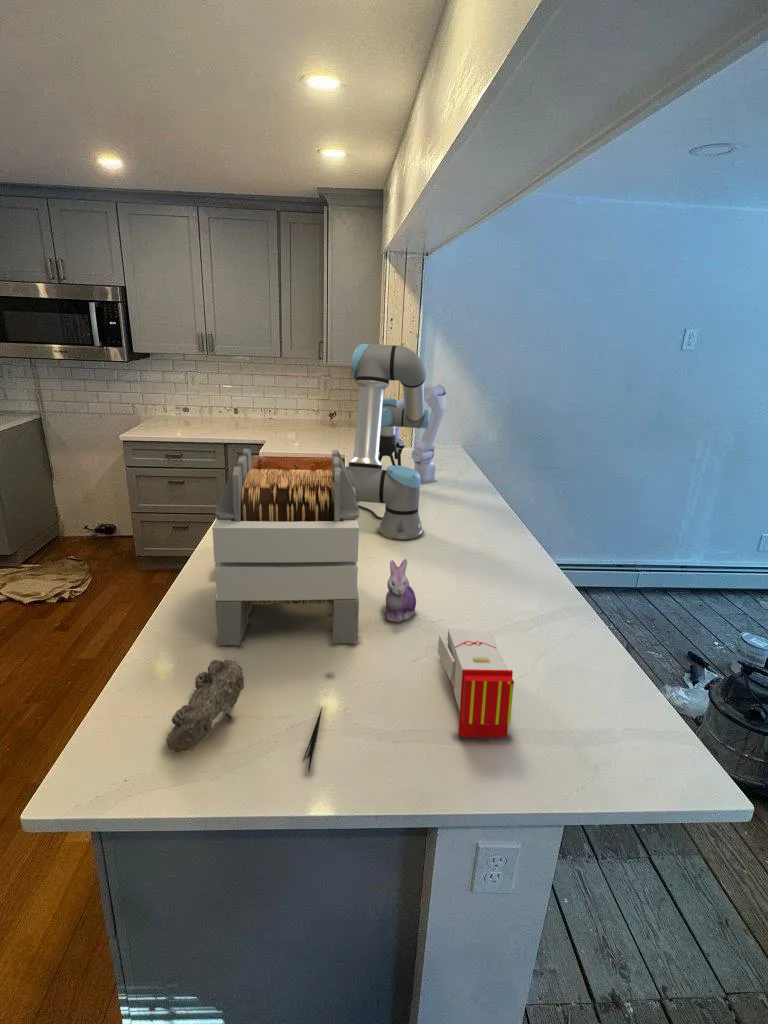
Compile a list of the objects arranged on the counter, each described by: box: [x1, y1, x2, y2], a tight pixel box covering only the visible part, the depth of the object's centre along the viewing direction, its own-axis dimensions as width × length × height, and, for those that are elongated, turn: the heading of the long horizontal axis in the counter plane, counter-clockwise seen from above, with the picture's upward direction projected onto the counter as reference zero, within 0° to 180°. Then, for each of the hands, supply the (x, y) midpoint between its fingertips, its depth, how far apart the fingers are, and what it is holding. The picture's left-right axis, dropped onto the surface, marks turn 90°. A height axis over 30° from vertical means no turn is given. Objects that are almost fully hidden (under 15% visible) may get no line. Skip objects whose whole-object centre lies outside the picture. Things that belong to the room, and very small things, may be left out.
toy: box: [437, 628, 515, 738], centre depth 117 cm, size 12×13×30 cm
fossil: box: [166, 658, 245, 754], centre depth 106 cm, size 22×10×15 cm
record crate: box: [212, 448, 360, 647], centre depth 140 cm, size 34×33×41 cm
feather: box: [301, 673, 332, 771], centre depth 108 cm, size 2×28×2 cm
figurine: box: [384, 558, 417, 623], centre depth 145 cm, size 9×10×15 cm
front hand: (384, 485), depth 253 cm, fingers open, 6 cm apart
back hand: (392, 457), depth 274 cm, fingers open, 7 cm apart
